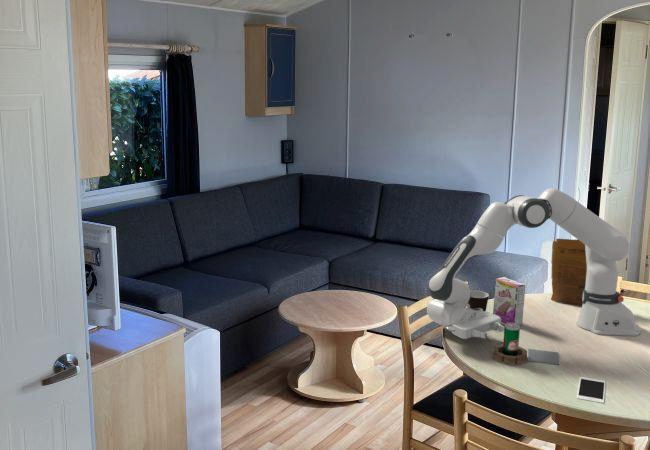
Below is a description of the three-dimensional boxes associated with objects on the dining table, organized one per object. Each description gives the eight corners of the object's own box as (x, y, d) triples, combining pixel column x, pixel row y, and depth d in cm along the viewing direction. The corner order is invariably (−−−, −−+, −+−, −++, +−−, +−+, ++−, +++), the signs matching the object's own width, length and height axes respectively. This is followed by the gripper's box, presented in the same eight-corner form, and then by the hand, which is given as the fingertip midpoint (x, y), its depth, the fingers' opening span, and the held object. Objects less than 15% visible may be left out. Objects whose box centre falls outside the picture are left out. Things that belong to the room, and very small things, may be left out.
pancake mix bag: (595, 309, 294) (602, 242, 287) (546, 302, 301) (552, 237, 294) (595, 304, 300) (602, 238, 293) (548, 297, 307) (554, 233, 300)
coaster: (558, 353, 250) (558, 352, 249) (559, 365, 240) (559, 364, 240) (528, 349, 252) (528, 348, 252) (528, 361, 243) (528, 360, 243)
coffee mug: (487, 323, 276) (489, 298, 274) (464, 321, 278) (465, 296, 276) (486, 313, 287) (488, 289, 285) (464, 311, 289) (466, 287, 287)
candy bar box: (491, 318, 282) (494, 278, 278) (500, 316, 284) (503, 276, 281) (513, 327, 273) (517, 286, 269) (522, 324, 275) (526, 284, 272)
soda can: (508, 362, 242) (511, 328, 239) (499, 356, 247) (501, 323, 244) (520, 359, 244) (523, 326, 241) (511, 354, 248) (513, 321, 246)
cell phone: (576, 399, 217) (576, 397, 217) (579, 378, 232) (579, 376, 231) (603, 404, 214) (604, 402, 214) (605, 382, 229) (605, 380, 229)
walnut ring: (526, 353, 249) (527, 346, 248) (526, 366, 239) (527, 359, 238) (494, 349, 252) (494, 343, 251) (492, 362, 242) (492, 355, 241)
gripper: (444, 318, 253) (475, 330, 242) (482, 306, 265) (513, 317, 254) (443, 335, 254) (474, 348, 244) (481, 323, 267) (512, 334, 256)
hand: (494, 332), depth 249 cm, fingers open, 8 cm apart
